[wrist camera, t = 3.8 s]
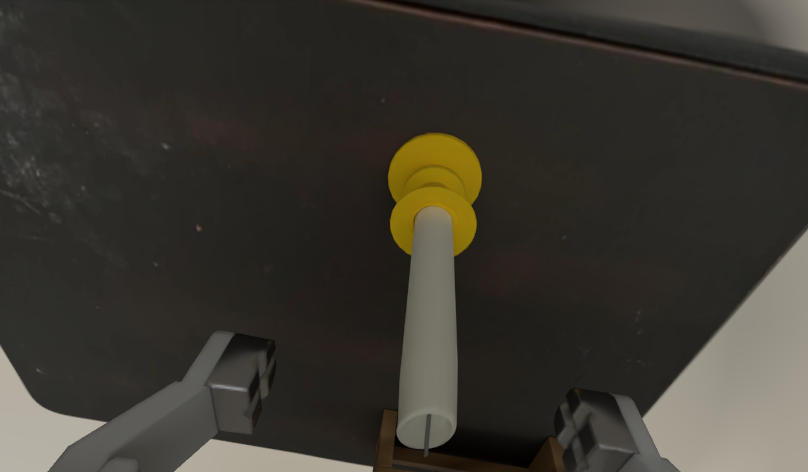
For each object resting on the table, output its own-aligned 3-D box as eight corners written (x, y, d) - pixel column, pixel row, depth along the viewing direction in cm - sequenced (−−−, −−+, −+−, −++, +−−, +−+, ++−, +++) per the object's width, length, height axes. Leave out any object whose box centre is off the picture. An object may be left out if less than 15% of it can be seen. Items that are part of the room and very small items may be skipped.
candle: (461, 116, 20) (502, 357, 7) (493, 199, 22) (568, 496, 9) (372, 154, 21) (266, 412, 8) (411, 228, 24) (375, 520, 11)
